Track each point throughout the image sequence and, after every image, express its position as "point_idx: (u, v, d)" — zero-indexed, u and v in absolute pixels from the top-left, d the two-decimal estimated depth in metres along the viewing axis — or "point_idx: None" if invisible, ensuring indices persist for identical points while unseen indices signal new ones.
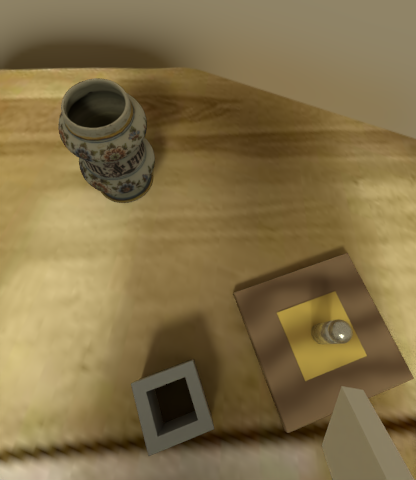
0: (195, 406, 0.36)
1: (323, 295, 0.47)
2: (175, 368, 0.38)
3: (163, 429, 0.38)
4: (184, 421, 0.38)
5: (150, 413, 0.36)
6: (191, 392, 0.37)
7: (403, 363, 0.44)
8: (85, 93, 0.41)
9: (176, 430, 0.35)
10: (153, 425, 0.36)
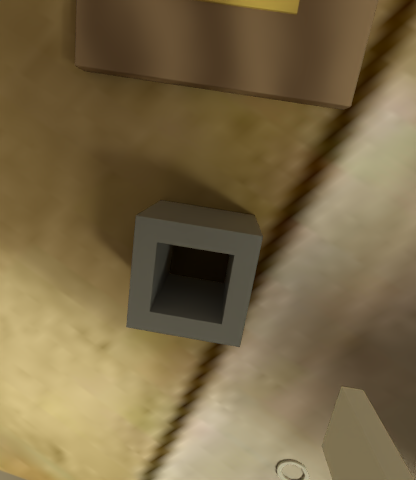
0: (211, 248, 0.19)
1: None
2: (135, 251, 0.19)
3: (223, 300, 0.23)
4: None
5: (184, 319, 0.21)
6: (187, 244, 0.19)
7: None
8: None
9: (229, 294, 0.20)
10: (203, 322, 0.20)
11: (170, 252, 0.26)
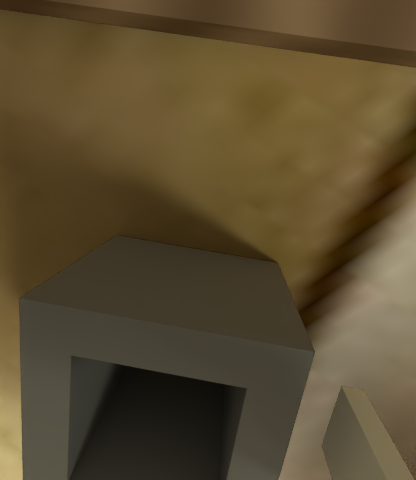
0: (194, 373, 0.08)
1: None
2: (26, 371, 0.09)
3: (223, 430, 0.12)
4: None
5: None
6: (138, 361, 0.08)
7: None
8: None
9: (234, 464, 0.09)
10: None
11: None
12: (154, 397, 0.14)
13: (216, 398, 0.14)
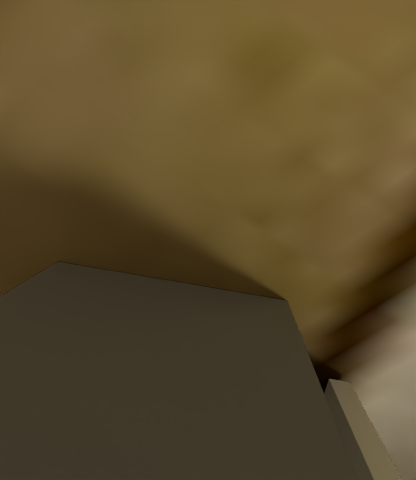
0: None
1: None
2: None
3: None
4: None
5: None
6: None
7: None
8: None
9: None
10: None
11: None
12: None
13: None
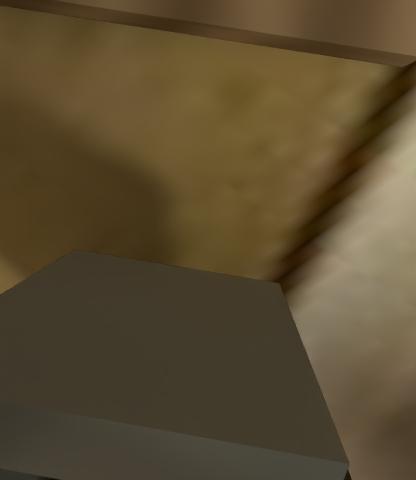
0: None
1: None
2: None
3: None
4: None
5: None
6: (65, 471, 0.05)
7: None
8: None
9: None
10: None
11: None
12: None
13: None
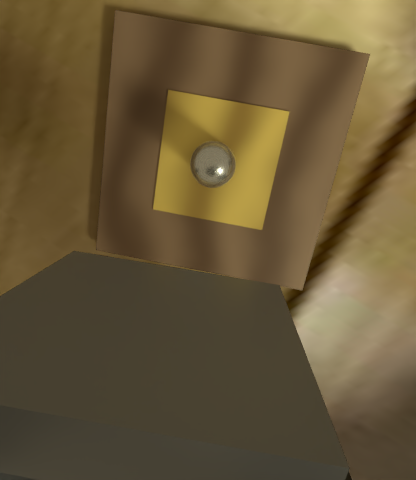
0: None
1: (165, 116, 0.25)
2: None
3: None
4: None
5: None
6: (64, 475, 0.05)
7: (339, 54, 0.23)
8: None
9: None
10: None
11: None
12: None
13: None
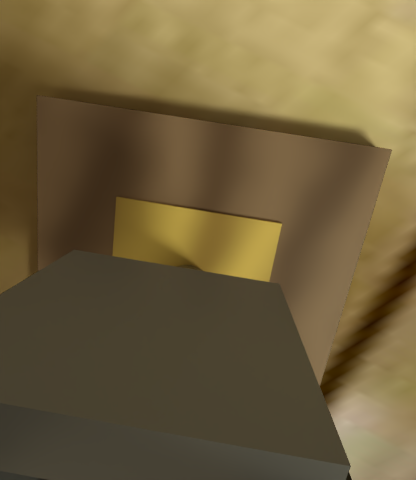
0: None
1: (114, 228, 0.19)
2: None
3: None
4: None
5: None
6: (64, 474, 0.05)
7: (349, 149, 0.17)
8: None
9: None
10: None
11: None
12: None
13: None
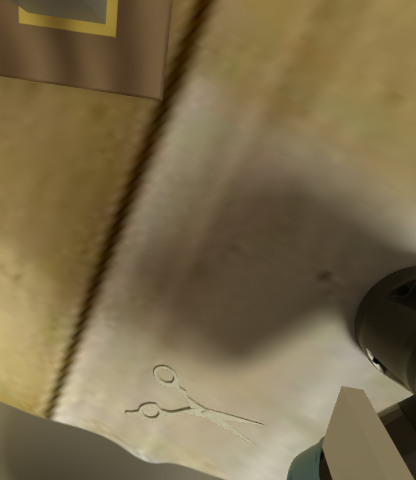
0: None
1: None
2: None
3: None
4: None
5: None
6: None
7: None
8: None
9: None
10: None
11: None
12: None
13: None
